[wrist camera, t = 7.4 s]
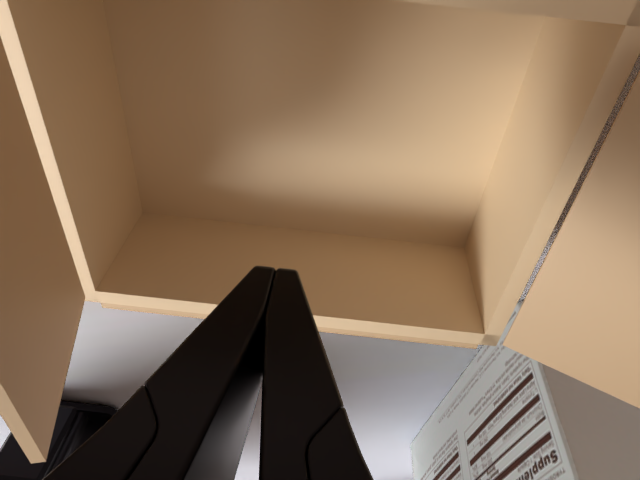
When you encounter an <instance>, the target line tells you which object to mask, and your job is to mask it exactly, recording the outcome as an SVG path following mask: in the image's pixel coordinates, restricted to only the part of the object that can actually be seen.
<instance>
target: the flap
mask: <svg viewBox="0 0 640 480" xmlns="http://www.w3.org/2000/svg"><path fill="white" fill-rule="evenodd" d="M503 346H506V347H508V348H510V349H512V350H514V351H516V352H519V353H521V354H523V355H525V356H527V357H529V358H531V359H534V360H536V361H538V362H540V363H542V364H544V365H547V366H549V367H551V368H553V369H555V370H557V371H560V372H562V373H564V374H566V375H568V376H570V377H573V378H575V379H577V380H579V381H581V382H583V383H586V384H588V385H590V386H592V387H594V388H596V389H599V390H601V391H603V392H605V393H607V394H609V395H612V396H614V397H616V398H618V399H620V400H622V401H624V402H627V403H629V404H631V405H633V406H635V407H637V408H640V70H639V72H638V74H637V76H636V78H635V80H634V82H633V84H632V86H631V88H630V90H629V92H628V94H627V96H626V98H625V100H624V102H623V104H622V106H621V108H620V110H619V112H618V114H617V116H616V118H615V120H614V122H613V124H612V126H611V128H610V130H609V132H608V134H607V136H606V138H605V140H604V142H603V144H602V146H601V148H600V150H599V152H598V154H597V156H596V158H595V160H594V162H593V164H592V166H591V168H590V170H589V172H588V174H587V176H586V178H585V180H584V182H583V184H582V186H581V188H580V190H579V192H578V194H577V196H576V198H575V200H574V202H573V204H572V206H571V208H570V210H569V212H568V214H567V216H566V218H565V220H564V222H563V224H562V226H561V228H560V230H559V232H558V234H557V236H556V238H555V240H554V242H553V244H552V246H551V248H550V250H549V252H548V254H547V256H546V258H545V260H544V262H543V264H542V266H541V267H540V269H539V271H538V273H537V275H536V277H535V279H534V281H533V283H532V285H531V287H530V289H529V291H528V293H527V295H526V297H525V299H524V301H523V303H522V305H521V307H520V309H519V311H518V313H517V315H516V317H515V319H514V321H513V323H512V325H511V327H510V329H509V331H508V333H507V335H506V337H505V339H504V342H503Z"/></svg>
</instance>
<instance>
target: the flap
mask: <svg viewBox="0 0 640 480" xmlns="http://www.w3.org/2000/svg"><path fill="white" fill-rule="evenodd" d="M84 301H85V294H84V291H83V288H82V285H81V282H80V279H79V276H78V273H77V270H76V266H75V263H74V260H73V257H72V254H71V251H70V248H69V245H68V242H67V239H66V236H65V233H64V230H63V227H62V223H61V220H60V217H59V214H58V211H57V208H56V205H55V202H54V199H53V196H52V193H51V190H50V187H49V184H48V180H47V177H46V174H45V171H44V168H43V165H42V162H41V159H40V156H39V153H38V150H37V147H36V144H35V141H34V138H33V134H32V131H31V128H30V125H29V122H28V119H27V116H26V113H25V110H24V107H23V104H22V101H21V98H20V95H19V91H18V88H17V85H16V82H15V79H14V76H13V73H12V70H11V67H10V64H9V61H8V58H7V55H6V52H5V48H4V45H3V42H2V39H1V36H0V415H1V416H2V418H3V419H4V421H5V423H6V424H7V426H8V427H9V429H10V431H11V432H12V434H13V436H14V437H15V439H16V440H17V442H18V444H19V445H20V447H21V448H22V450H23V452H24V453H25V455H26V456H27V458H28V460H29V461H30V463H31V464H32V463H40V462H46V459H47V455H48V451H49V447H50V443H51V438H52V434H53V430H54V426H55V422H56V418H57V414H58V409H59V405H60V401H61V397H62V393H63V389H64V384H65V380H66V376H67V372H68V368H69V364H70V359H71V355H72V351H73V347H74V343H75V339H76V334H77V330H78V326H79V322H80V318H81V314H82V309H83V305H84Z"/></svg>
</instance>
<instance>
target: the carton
mask: <svg viewBox="0 0 640 480" xmlns="http://www.w3.org/2000/svg"><path fill="white" fill-rule="evenodd" d="M0 36H1V39H2V42H3V45H4V48H5V52H6V55H7V58H8V61H9V64H10V67H11V70H12V73H13V76H14V79H15V82H16V85H17V88H18V91H19V95H20V98H21V101H22V104H23V107H24V110H25V113H26V116H27V119H28V122H29V125H30V128H31V131H32V134H33V138H34V141H35V144H36V147H37V150H38V153H39V156H40V159H41V162H42V165H43V168H44V171H45V174H46V177H47V180H48V184H49V187H50V190H51V193H52V196H53V199H54V202H55V205H56V208H57V211H58V214H59V217H60V220H61V223H62V227H63V230H64V233H65V236H66V239H67V242H68V245H69V248H70V251H71V254H72V257H73V260H74V263H75V266H76V270H77V273H78V276H79V279H80V282H81V285H82V288H83V291H84V294H85V301H91V302H100V303H101V305H102V308H111V309H120V310H129V311H138V312H147V313H156V314H165V315H174V316H183V317H192V318H201V319H205V318H206V317H207V316H208V315H209V314H210V313H211V312H212V311H213V310H214V309H215V308H216V307H217V305H218V304H219V303H220V302H221V301H222V300H223V299H224V298H225V297H226V296H227V295H228V294H229V293H230V292H231V291H232V290H233V288H234V287H235V286H236V285H237V284H238V283H239V282H240V281H241V280H242V279H243V278H244V277H245V276H246V275H247V274H248V273H249V271H250V270H251V269H252V268H253V267H255V266H268V267H274V268H275V270H277V269H278V268H286V269H295V270H297V271H298V273H299V276H300V279H301V282H302V285H303V288H304V291H305V294H306V296H307V299H308V302H309V305H310V308H311V311H312V314H313V317H314V320H315V323H316V326H317V329H318V332H328V333H337V334H346V335H355V336H364V337H373V338H382V339H391V340H400V341H409V342H418V343H427V344H436V345H445V346H454V347H463V348H472V349H477V346H478V344H480V345H489V346H496V345H497V343H498V341H499V339H500V337H501V335H502V333H503V331H504V329H505V327H506V325H507V323H508V321H509V319H510V317H511V315H512V313H513V311H514V309H515V307H516V305H517V303H518V301H519V299H520V297H521V295H522V293H523V290H524V288H525V286H526V284H527V282H528V280H529V278H530V276H531V274H532V272H533V270H534V268H535V266H536V264H537V262H538V260H539V258H540V256H541V254H542V252H543V250H544V248H545V246H546V244H547V242H548V240H549V238H550V236H551V234H552V232H553V229H554V227H555V225H556V223H557V221H558V219H559V217H560V215H561V213H562V211H563V209H564V207H565V205H566V203H567V201H568V199H569V197H570V195H571V193H572V191H573V189H574V187H575V185H576V183H577V181H578V179H579V177H580V175H581V173H582V171H583V168H584V166H585V164H586V162H587V160H588V158H589V156H590V154H591V152H592V150H593V148H594V146H595V144H596V142H597V140H598V138H599V136H600V134H601V132H602V130H603V128H604V126H605V124H606V122H607V120H608V118H609V116H610V114H611V112H612V109H613V107H614V105H615V103H616V101H617V99H618V97H619V95H620V93H621V91H622V89H623V87H624V85H625V83H626V81H627V79H628V77H629V75H630V73H631V71H632V69H633V67H634V65H635V63H636V61H637V59H638V57H639V55H640V0H0Z"/></svg>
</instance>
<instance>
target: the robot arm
mask: <svg viewBox="0 0 640 480" xmlns="http://www.w3.org/2000/svg"><path fill="white" fill-rule="evenodd" d="M261 384H262V408H261V437H260V465H259V480H373V478H372V476H371V473H370V471H369V469H368V467H367V465H366V462H365V460H364V458H363V456H362V454H361V451H360V448H359V446H358V443H357V441H356V438H355V435H354V433H353V430H352V427H351V425H350V422H349V419H348V416H347V413H346V410H345V408H343V402H342V399H341V396H340V393H339V390H338V387H337V384H336V381H335V378H334V376H333V373H332V370H331V367H330V364H329V361H328V358H327V355H326V352H325V349H324V346H323V343H322V340H321V337H320V335H319V332H318V329H317V326H316V323H315V320H314V317H313V314H312V311H311V308H310V305H309V302H308V299H307V296H306V294H305V291H304V288H303V285H302V282H301V279H300V276H299V273H298V271H297V270H295V269H286V268H278V269H277V270H275V268H274V267H268V266H255V267H253V268H252V269H251V270H250V271H249V273H248V274H247V275H246V276H245V277H244V278H243V279H242V280H241V281H240V282H239V283H238V284H237V285H236V286H235V287H234V288H233V290H232V291H231V292H230V293H229V294H228V295H227V296H226V297H225V298H224V299H223V300H222V301H221V302H220V303H219V304H218V305H217V307H216V308H215V309H214V310H213V311H212V312H211V313H210V314H209V315H208V316H207V317H206V318H205V319H204V320H203V321H202V323H201V324H200V325H199V326H198V327H197V328H196V329H195V330H194V331H193V332H192V333H191V334H190V335H189V336H188V337H187V338H186V340H185V341H184V342H183V343H182V344H181V345H180V346H179V347H178V348H177V349H176V350H175V351H174V352H173V353H172V354H171V355H170V357H169V358H168V359H167V360H166V361H165V362H164V363H163V364H162V365H161V366H160V367H159V368H158V369H157V370H156V371H155V373H154V374H153V375H152V376H151V377H150V378H149V379H148V380H147V381H146V382H145V386H141V387H140V388H139V389H138V390H137V391H136V392H135V394H134V395H133V396H132V397H131V398H130V399H129V400H128V401H127V402H126V403H125V404H124V405H123V406H122V407H121V408H120V409H119V410H118V411H117V410H115V409H114V408H112V407H108V406H100V405H91V404H82V403H73V402H64V401H60V405H59V409H58V414H57V418H56V422H55V426H54V430H53V434H52V438H51V443H50V447H49V451H48V455H47V459H46V462H40V463H32V464H31V463H30V461H29V460H28V458H27V456H26V455H25V453H24V452H23V450H22V448H21V447H20V445H19V444H18V442H17V440H16V439H15V437H14V436H13V434H12V432H10V434H9V435H8V437H7V439H6V440H5V442H4V444H3V445H2V447H1V449H0V480H234V478H235V475H236V471H237V468H238V464H239V461H240V457H241V454H242V450H243V447H244V443H245V440H246V436H247V433H248V429H249V426H250V422H251V419H252V415H253V412H254V408H255V405H256V402H257V398H258V395H259V391H260V388H261Z"/></svg>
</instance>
